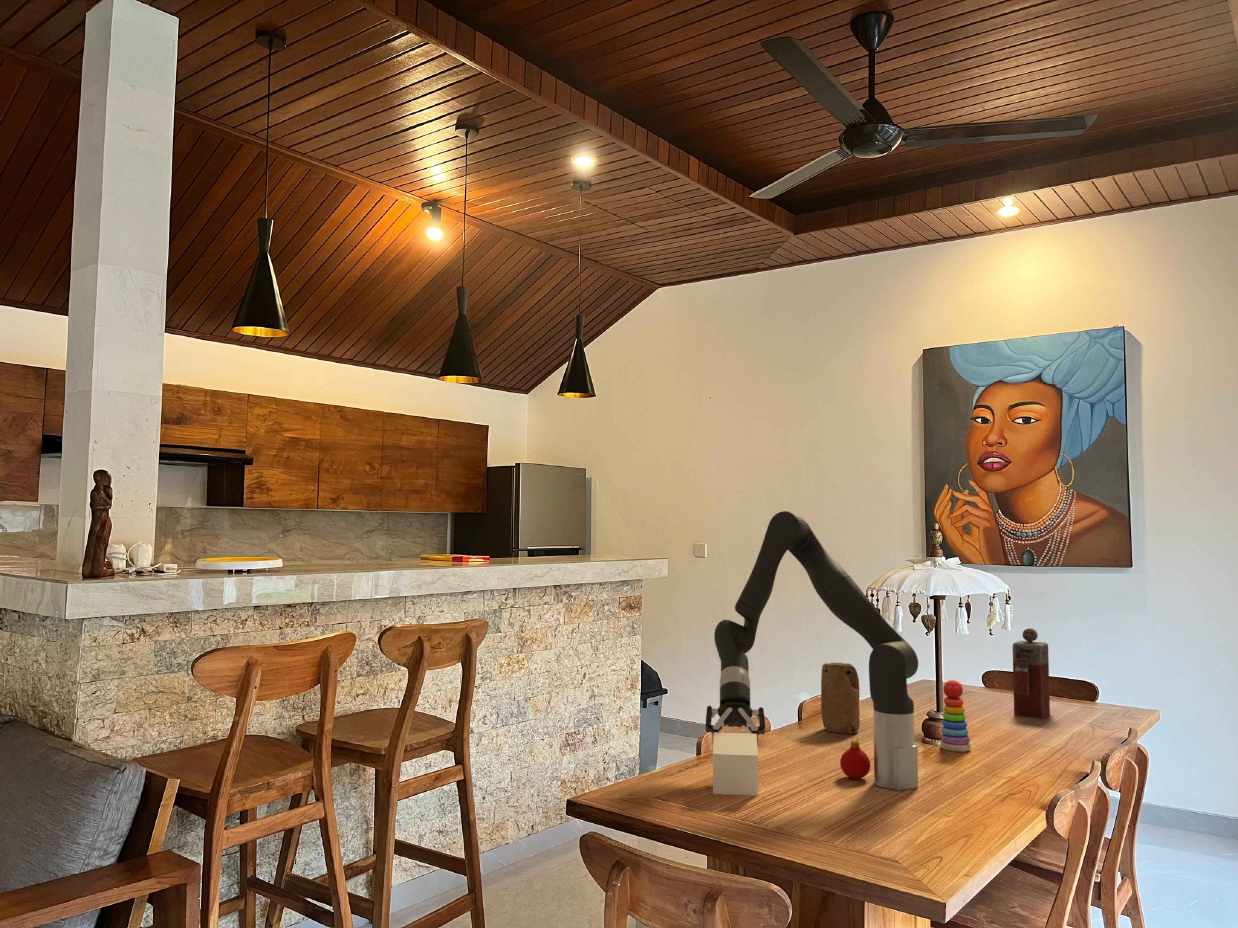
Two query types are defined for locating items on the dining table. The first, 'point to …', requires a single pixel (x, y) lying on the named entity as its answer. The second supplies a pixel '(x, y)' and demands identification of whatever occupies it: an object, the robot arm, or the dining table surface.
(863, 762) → the christmas ornament
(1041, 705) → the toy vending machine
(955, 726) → the stacking toy
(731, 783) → the plain beige cube
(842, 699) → the block
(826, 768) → the dining table surface
